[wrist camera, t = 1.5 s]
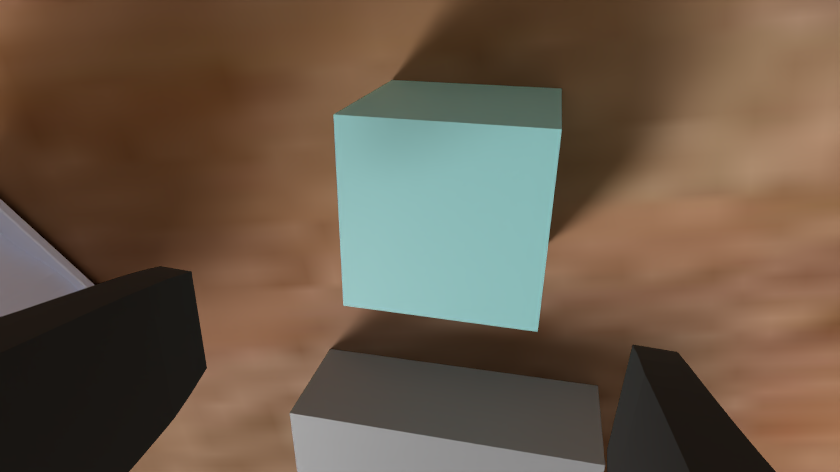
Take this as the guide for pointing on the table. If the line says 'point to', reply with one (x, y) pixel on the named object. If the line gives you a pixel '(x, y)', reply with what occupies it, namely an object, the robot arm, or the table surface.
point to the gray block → (442, 419)
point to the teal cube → (448, 199)
